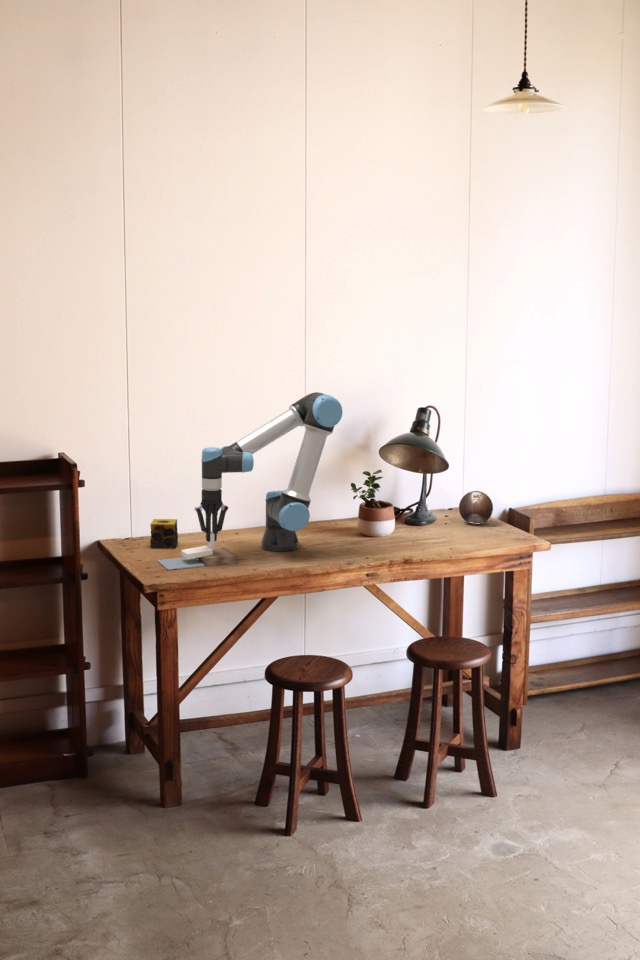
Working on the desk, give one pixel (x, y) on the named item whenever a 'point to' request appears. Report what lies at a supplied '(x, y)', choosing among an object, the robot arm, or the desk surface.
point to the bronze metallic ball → (475, 507)
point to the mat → (180, 563)
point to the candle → (164, 533)
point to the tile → (197, 552)
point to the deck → (219, 557)
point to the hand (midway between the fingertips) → (211, 549)
